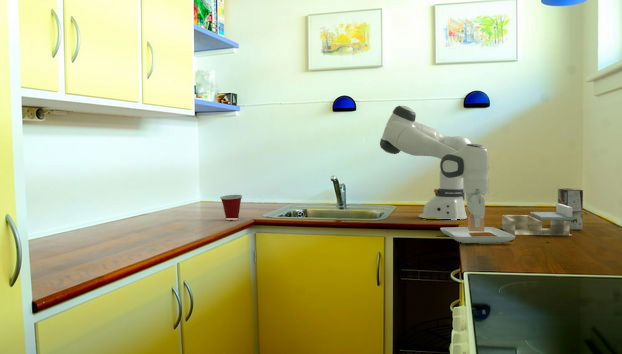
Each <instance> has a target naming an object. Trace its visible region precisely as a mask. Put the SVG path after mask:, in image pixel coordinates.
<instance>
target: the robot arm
mask: <svg viewBox="0 0 622 354" xmlns="http://www.w3.org/2000/svg"><path fill="white" fill-rule="evenodd" d="M416 115H417V114H416V112H415V111H414V110H413V109H412V108H411V107H410V106H406V105H398V106H396V107H394V109H393V111H392V114H391V115H390V117H389V118H388V120H387V122H386V124H385V127H384V130H383V133H382V136H381V138H380V141H379V146H380V148H381V149H382V150H383V151H384V152H386V153H387V154H391V155H397V154H399V153H401V152H403V153H404V154H407V155H410V156H415V157H417V156H419V157H431V158H433V157H434V158H437V159H440V162H439V168H440V169H439V170H440V171H439V188H438V189H437V188H434V189H433V192H434V194H435V196H434V197H432V198H431V199H430V200H428V201H427V202H425V204H424V206H423V211H422V213H420V214H418V218H419V217H422V218H436V219H451V220H450V221H458V220H457V219H460V220H466V219H468V216H467V213H466V208H467V210H468V211H469V212H470V216H474V226H475V227H480V219H481V217H484V218H485V214H486V204H485V203H486V200H485V199H486V194H489V189H490V188H489V187H490V186H489V185H490V184H489V183H490V182H489V181H490V179H489V176H488V171H489V170H490V169H489V168H490V163H489V162H490V160H489V159H490V158H489V152H488V149H487V147H485V146H484V145H482V144H475V143H472V142H471V141H470V140H469V139H468V138H466V137H463V136H459V135H458V136H455V135H454V136H450V135H444V134H443V133H440V132H439V131H438V130H437V129H436V128H433V127H431V126H428V125H425V124H422V123H420V122H417V121H416V117H417V116H416ZM465 198H466V200H465ZM465 201H466V206H465ZM465 207H466V208H465Z"/></svg>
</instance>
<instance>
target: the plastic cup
mask: <svg viewBox="0 0 622 354" xmlns="http://www.w3.org/2000/svg"><path fill="white" fill-rule="evenodd" d="M219 198H220V200H221V203H222V206H223V212H224V215H225V219H226V218H238V219H239V217H240V210H241V209H240V208H241V202H242V198H243V195H242V194H228V195H224V196H220V197H219Z"/></svg>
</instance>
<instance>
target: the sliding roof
mask: <svg viewBox="0 0 622 354" xmlns="http://www.w3.org/2000/svg"><path fill="white" fill-rule="evenodd" d="M555 209H556V210H555V211H542V212H541V211H530V212H529V213H530V214H529V215H531V216H533V217H535V218H538V219H540V220H542V221H551V220H573V217H572V207H569V206H566V205H563V204H558V203H556V207H555Z"/></svg>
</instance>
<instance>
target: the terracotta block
mask: <svg viewBox="0 0 622 354" xmlns="http://www.w3.org/2000/svg"><path fill="white" fill-rule="evenodd" d="M467 221H468V222H467V224H468V225H467V227H468V230H469V231H480V232H479V233H485V232H484V227H485V216H484V217H481V219H480V227H475V226H474V216H471V215H468V216H467Z"/></svg>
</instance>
